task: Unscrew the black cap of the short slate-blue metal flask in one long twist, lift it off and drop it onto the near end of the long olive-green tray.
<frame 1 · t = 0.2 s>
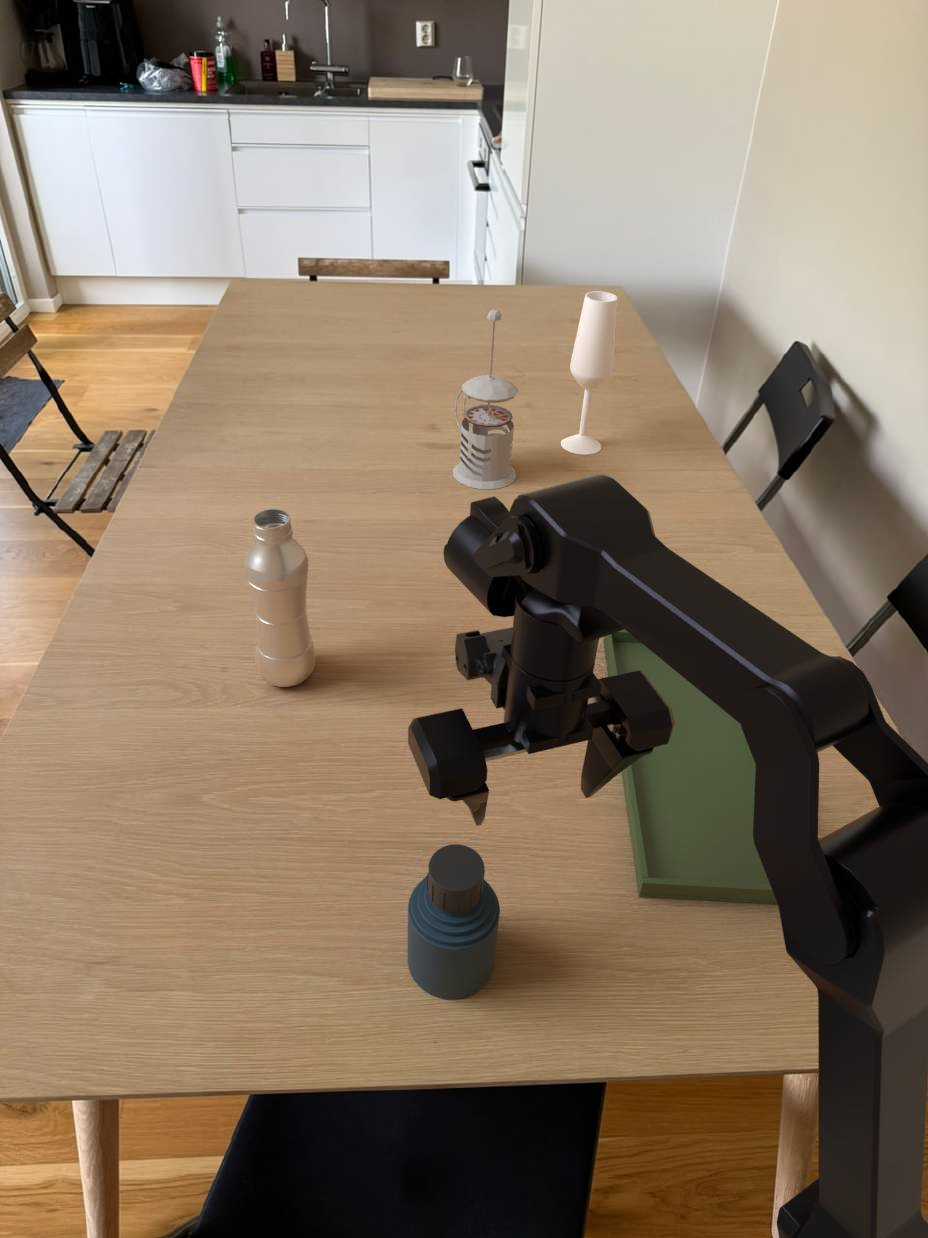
hand: (532, 807, 69), 12 cm above the table, tool pointing down, fingers open, 9 cm apart
tray: (692, 753, 91), on the table
plastic bottle: (287, 675, 98), on the table
champagne flute: (580, 446, 145), on the table
flask cap: (456, 870, 65), point 12 cm above the table, screwed on, not yet turned
french press: (480, 472, 137), on the table
flask: (450, 958, 72), on the table
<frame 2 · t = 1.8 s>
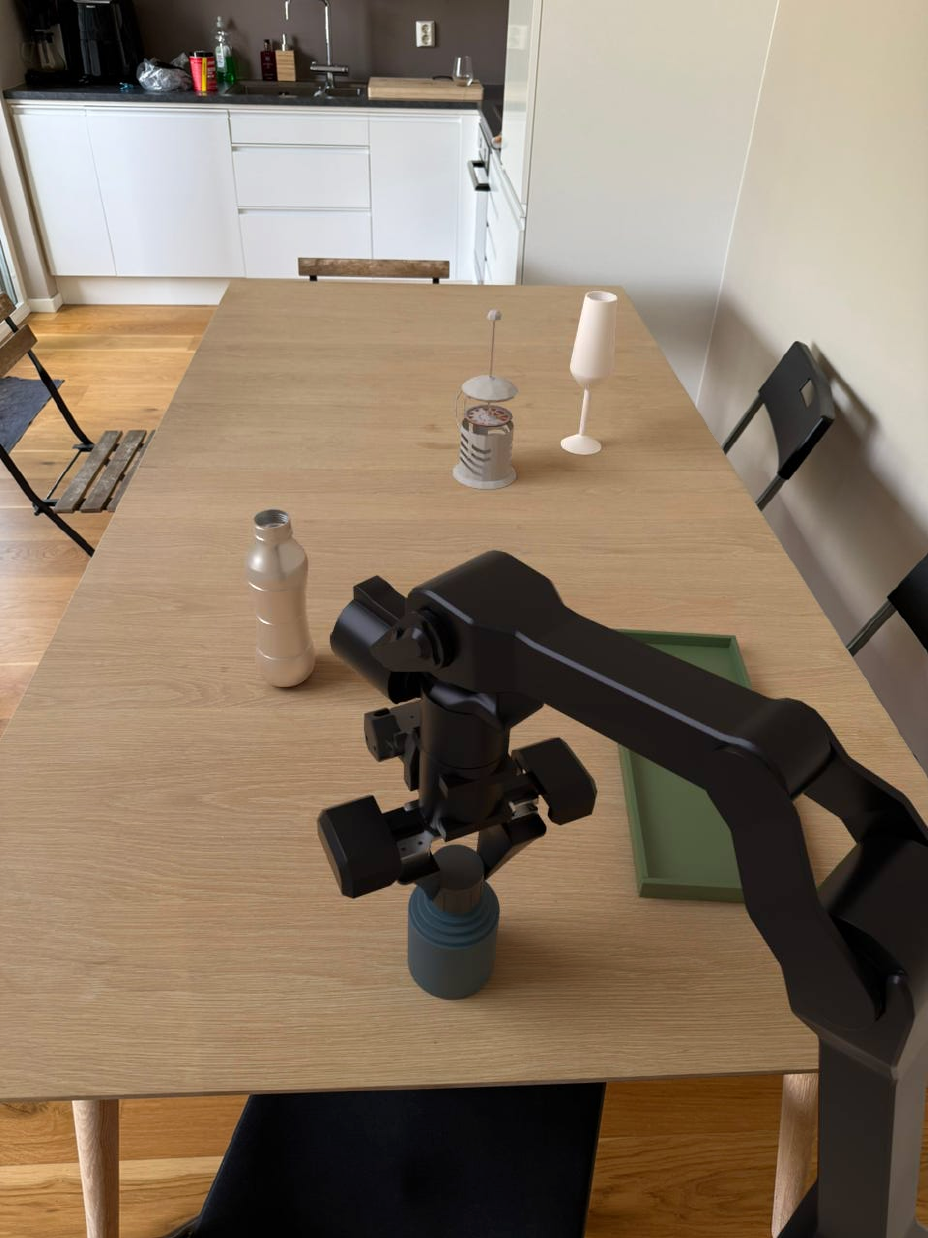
hand: (455, 885, 66), 10 cm above the table, tool pointing down, fingers closed on flask cap, 4 cm apart
flask cap: (456, 870, 65), point 12 cm above the table, screwed on, not yet turned, touching gripper
everything else where it was.
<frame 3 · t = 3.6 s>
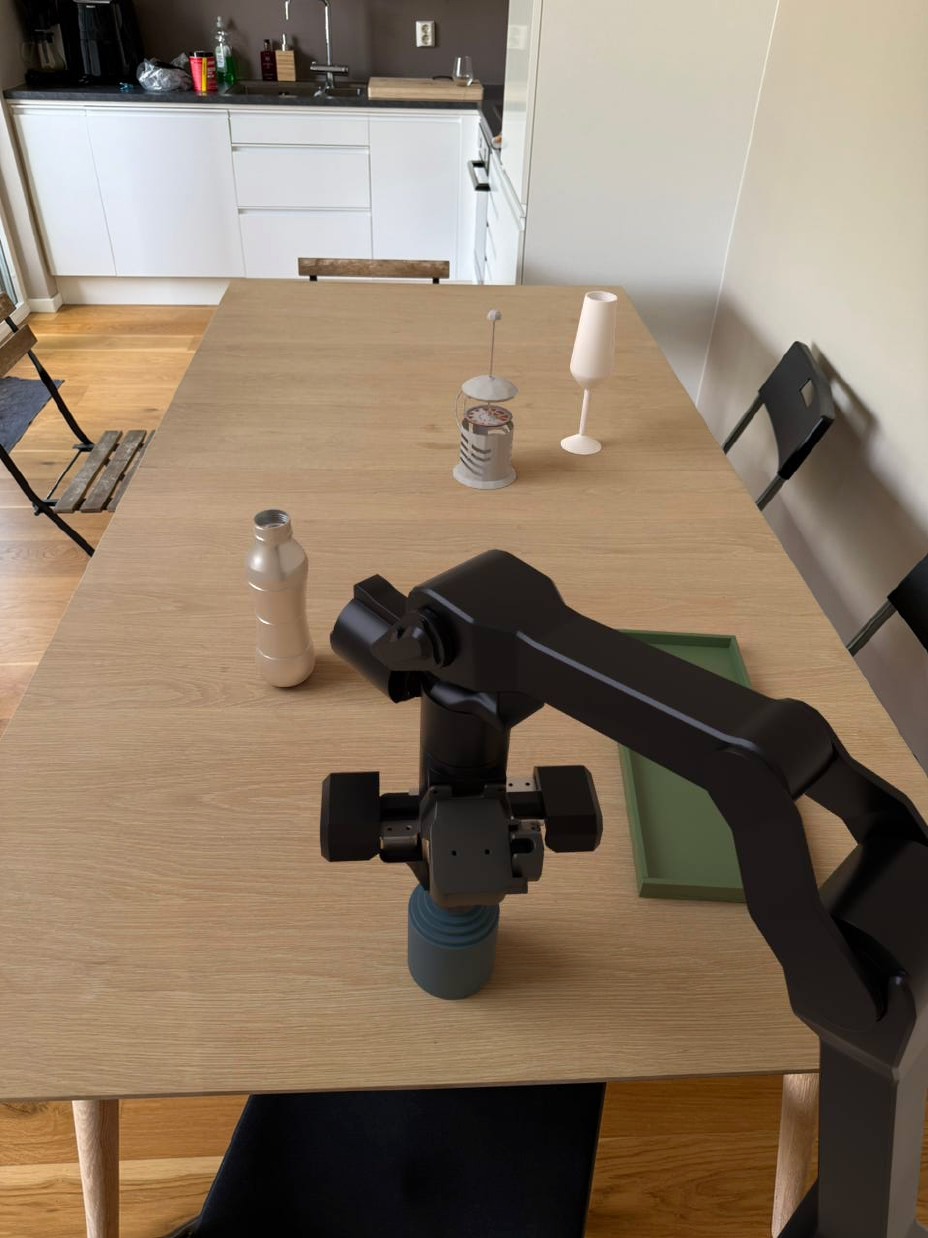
hand: (455, 884, 66), 10 cm above the table, tool pointing down, fingers closed on flask cap, 4 cm apart
flask cap: (456, 869, 65), point 12 cm above the table, off its thread, touching gripper
everything else where it was.
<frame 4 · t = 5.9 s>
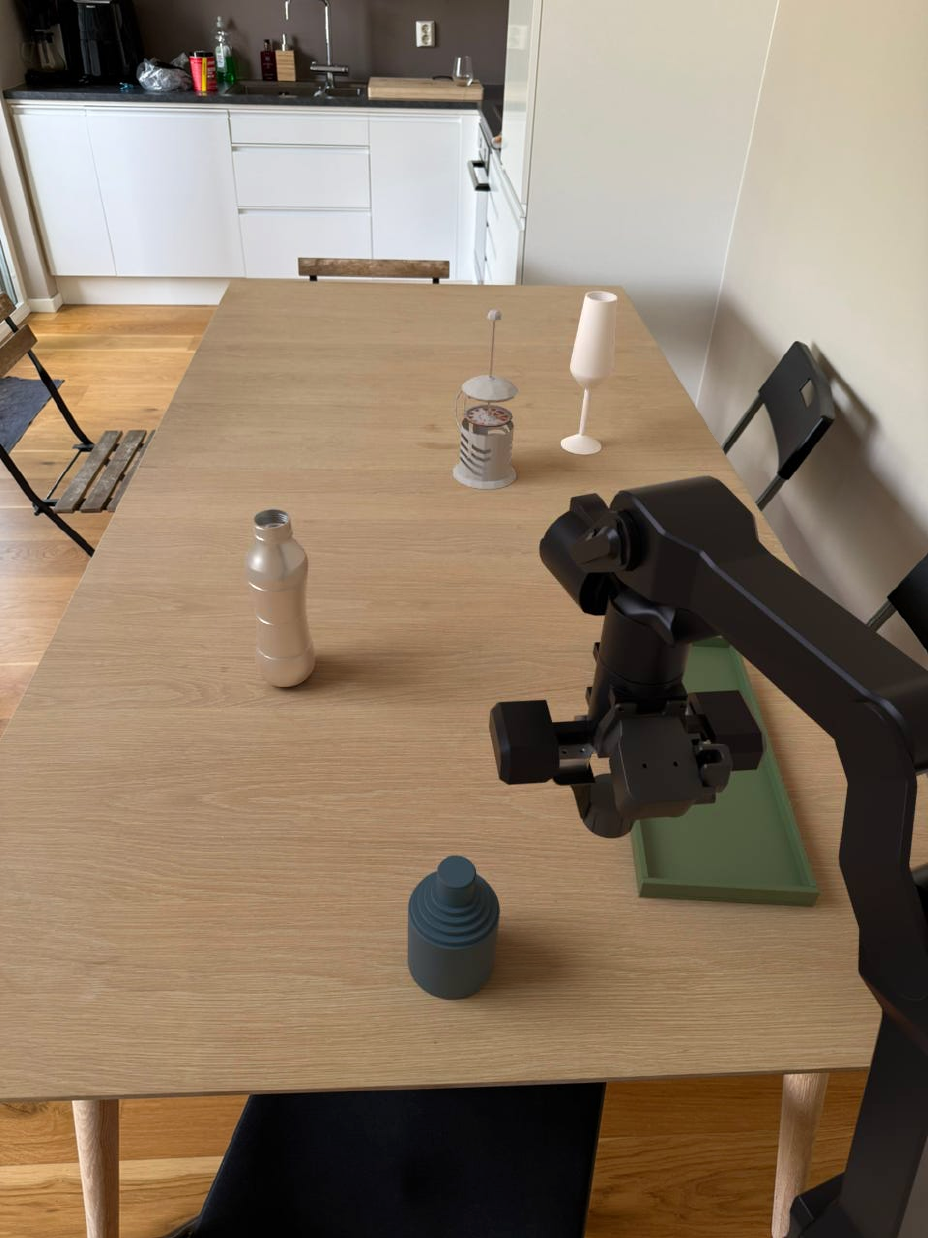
hand: (608, 812, 68), 13 cm above the table, tool pointing down, fingers closed on flask cap, 4 cm apart
flask cap: (611, 796, 67), point 15 cm above the table, off its thread, touching gripper
everything else where it was.
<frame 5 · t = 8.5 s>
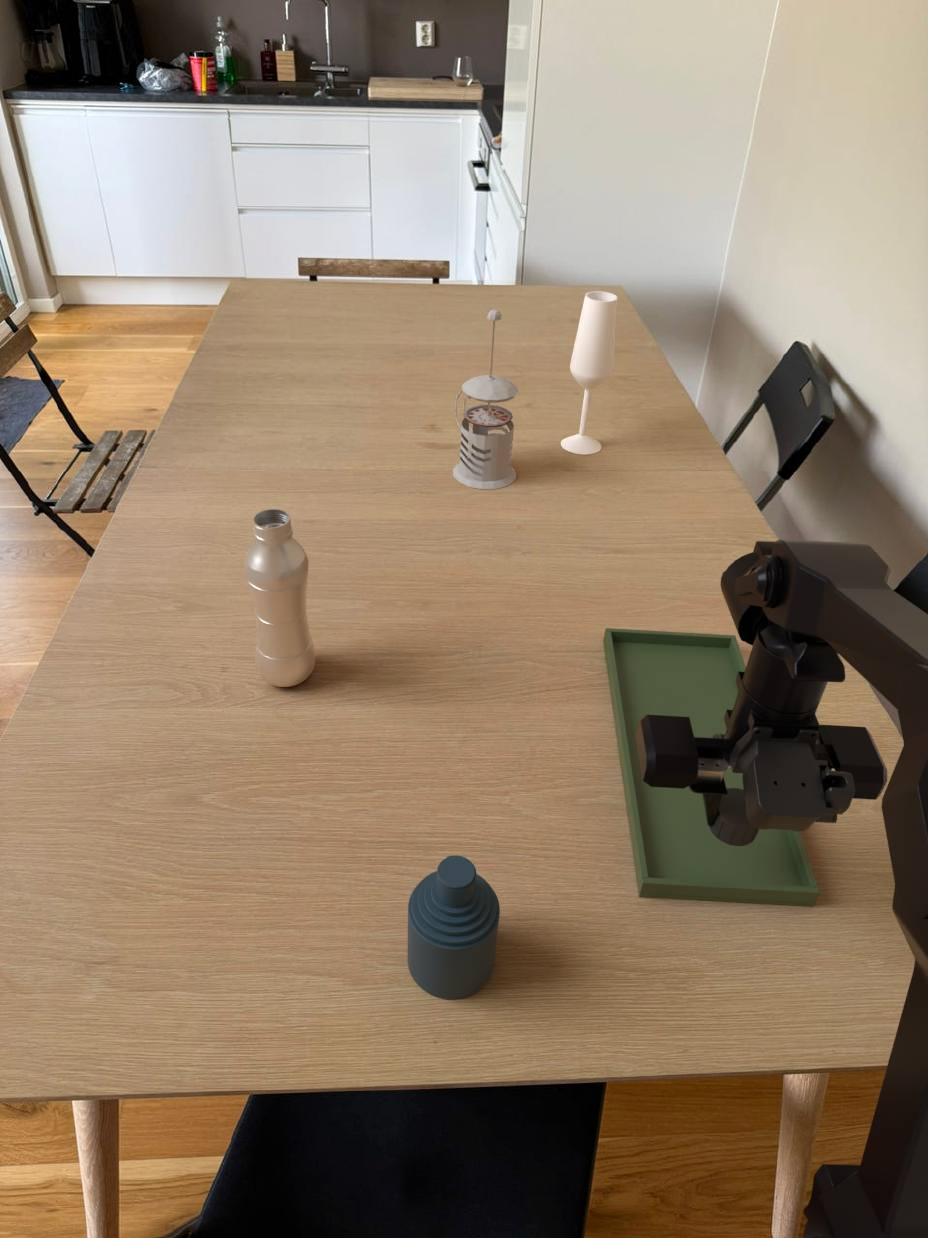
hand: (733, 823, 76), 6 cm above the table, tool pointing down, fingers closed on flask cap, 4 cm apart
flask cap: (738, 809, 75), point 8 cm above the table, off its thread, touching gripper
everything else where it was.
when the fingers open (1 cm above the table, at t = 10.3 s): flask cap stays where it is, resting on tray.
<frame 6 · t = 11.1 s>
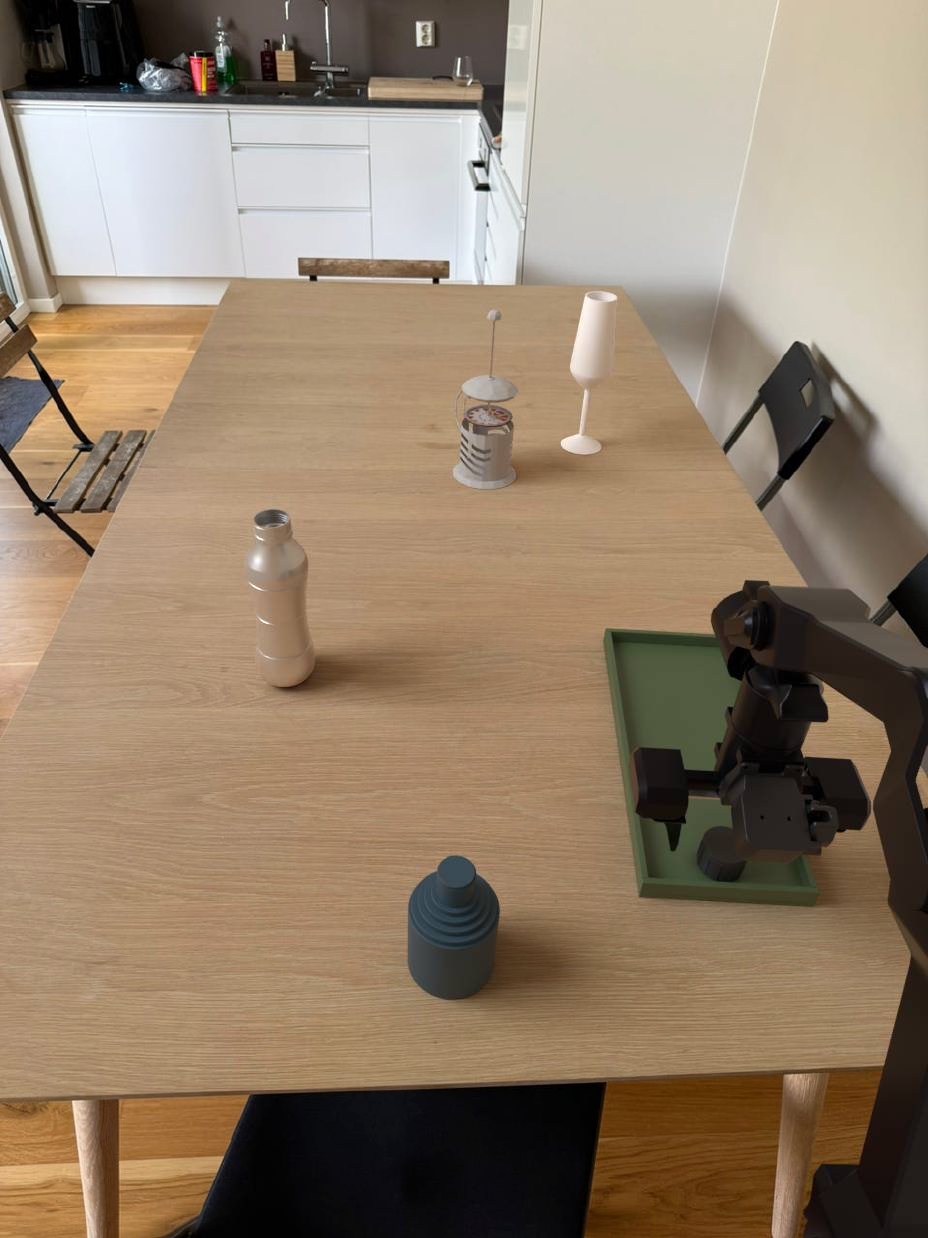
hand: (723, 850, 79), 2 cm above the table, tool pointing down, fingers open, 9 cm apart
flask cap: (725, 847, 78), point 3 cm above the table, off its thread, touching tray
everything else where it was.
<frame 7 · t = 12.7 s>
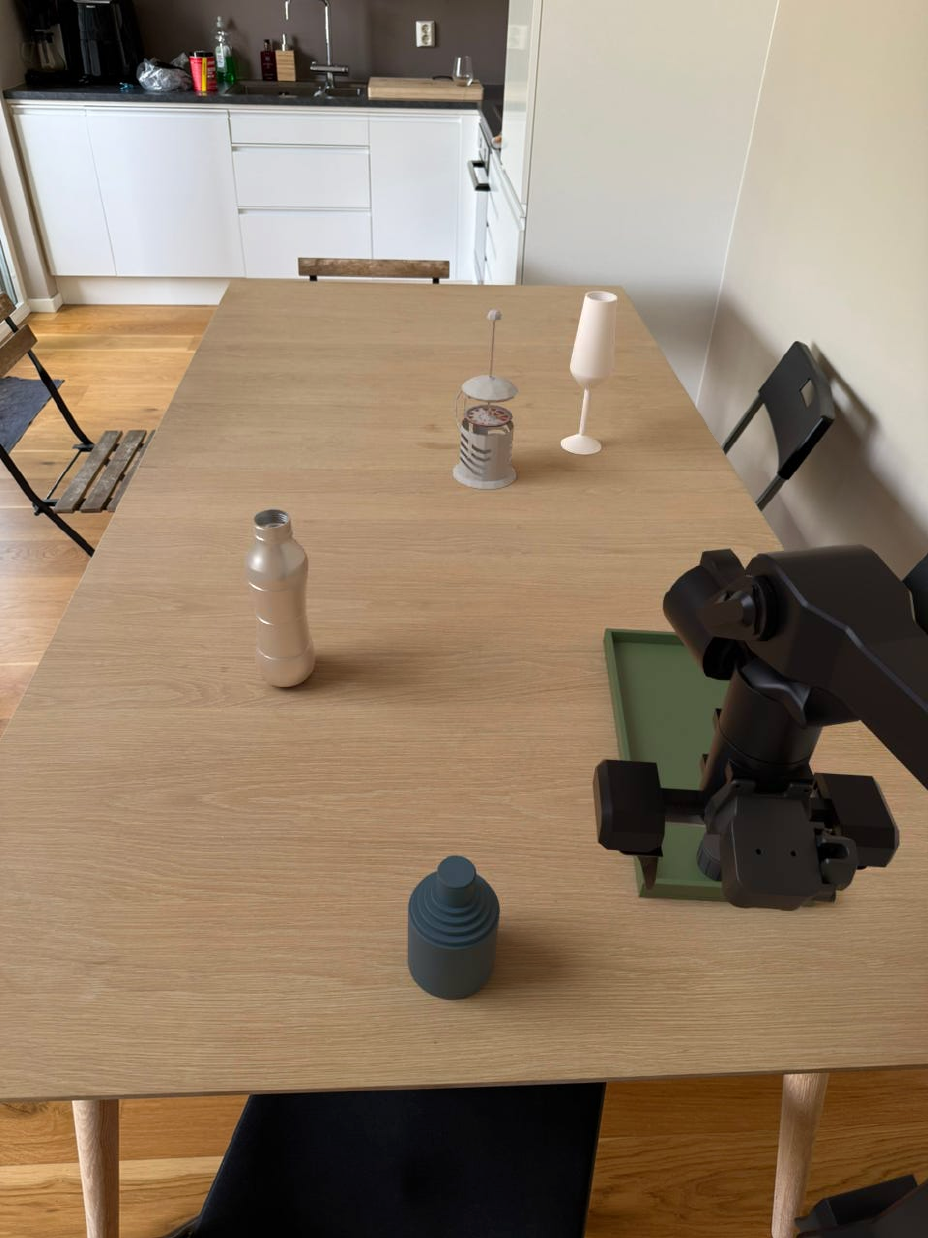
hand: (713, 889, 63), 13 cm above the table, tool pointing down, fingers open, 9 cm apart
nothing on the table moved.
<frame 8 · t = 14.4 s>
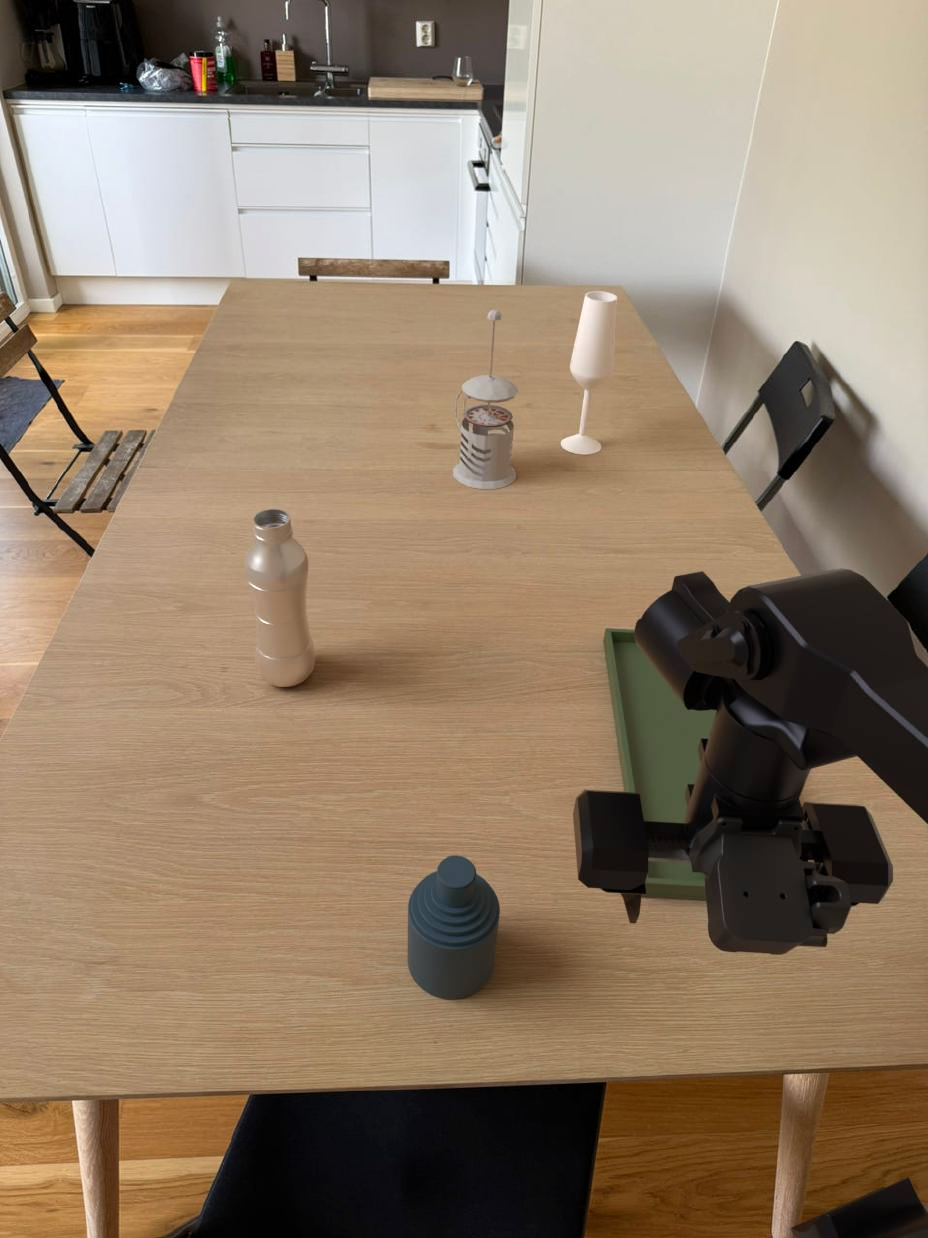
hand: (699, 921, 61), 13 cm above the table, tool pointing down, fingers open, 9 cm apart
nothing on the table moved.
at the end: flask cap inside the target area on the tray (0.5 cm from its centre), point 2.9 cm above the tray's base; the gripper is holding nothing; flask tilted 0° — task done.
